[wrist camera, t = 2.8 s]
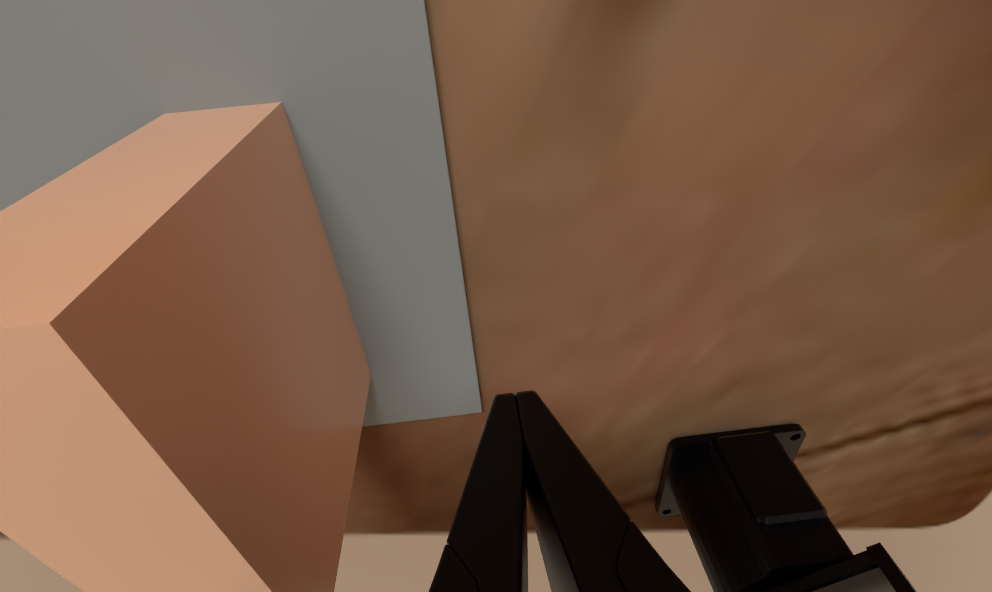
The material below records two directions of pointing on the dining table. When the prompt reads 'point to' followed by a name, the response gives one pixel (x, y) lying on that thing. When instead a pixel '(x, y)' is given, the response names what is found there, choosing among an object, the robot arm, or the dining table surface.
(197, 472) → the tile
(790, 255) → the dining table surface
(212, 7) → the mat
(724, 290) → the dining table surface
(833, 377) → the dining table surface
